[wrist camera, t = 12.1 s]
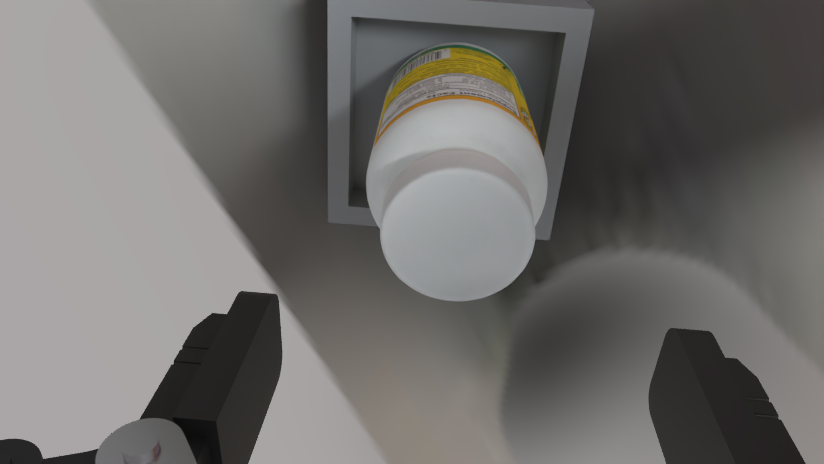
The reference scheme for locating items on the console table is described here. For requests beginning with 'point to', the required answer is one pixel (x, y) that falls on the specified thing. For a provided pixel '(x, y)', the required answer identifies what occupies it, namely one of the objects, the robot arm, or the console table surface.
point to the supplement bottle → (456, 174)
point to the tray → (436, 24)
